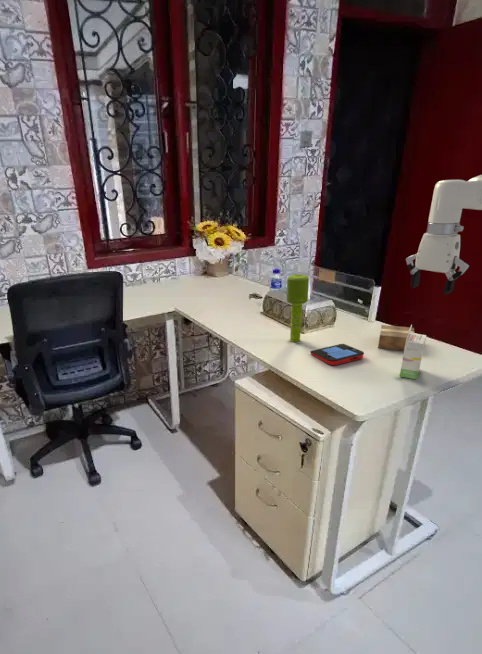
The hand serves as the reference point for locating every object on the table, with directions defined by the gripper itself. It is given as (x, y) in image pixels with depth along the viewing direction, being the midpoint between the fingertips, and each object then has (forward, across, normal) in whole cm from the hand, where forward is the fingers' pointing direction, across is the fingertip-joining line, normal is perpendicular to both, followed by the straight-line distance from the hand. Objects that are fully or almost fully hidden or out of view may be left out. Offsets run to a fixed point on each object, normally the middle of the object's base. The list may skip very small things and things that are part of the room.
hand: (430, 290), depth 122 cm
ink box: (+26, -1, +4) cm, 26 cm away
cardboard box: (+26, +15, -14) cm, 33 cm away
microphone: (+26, +42, +10) cm, 50 cm away
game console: (+26, +22, +10) cm, 36 cm away
